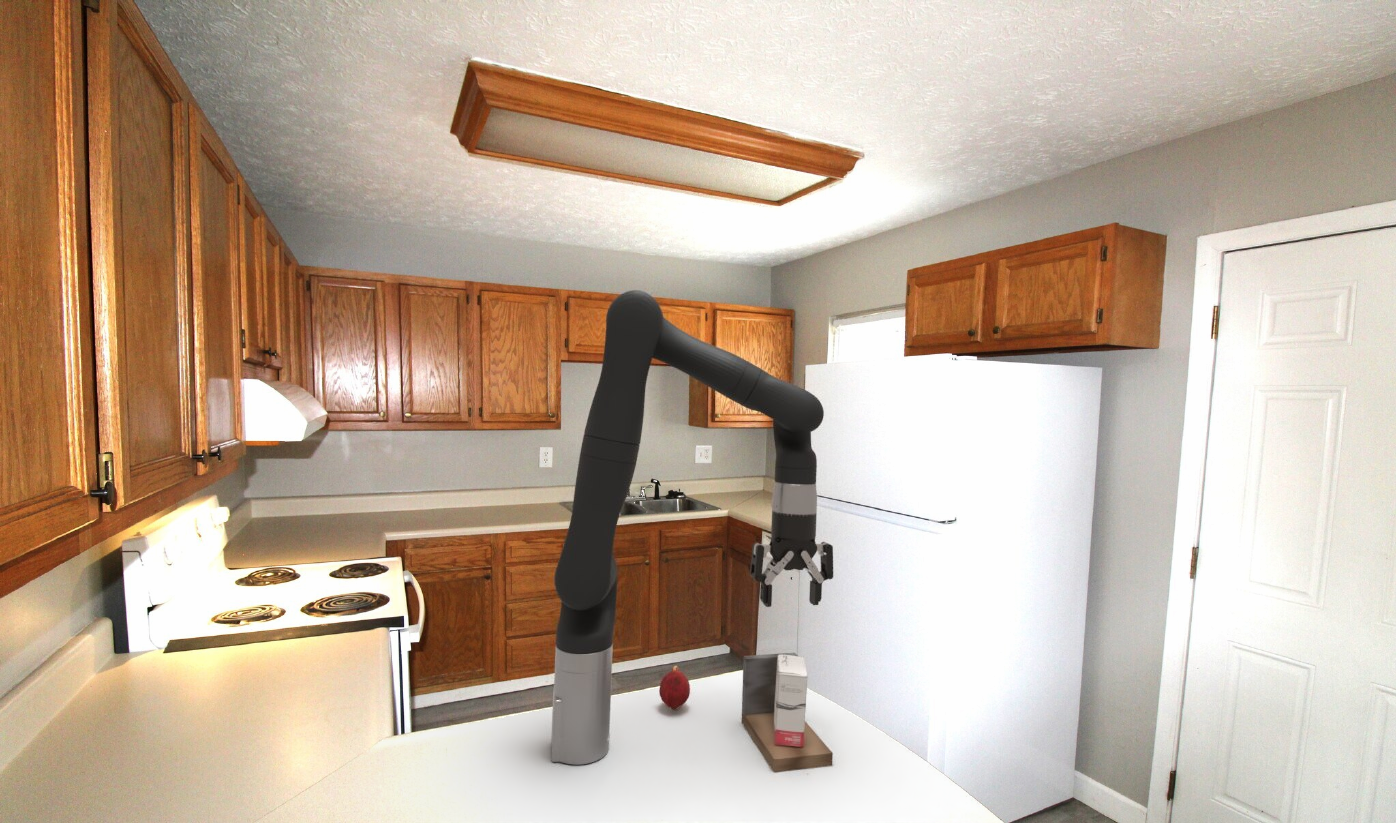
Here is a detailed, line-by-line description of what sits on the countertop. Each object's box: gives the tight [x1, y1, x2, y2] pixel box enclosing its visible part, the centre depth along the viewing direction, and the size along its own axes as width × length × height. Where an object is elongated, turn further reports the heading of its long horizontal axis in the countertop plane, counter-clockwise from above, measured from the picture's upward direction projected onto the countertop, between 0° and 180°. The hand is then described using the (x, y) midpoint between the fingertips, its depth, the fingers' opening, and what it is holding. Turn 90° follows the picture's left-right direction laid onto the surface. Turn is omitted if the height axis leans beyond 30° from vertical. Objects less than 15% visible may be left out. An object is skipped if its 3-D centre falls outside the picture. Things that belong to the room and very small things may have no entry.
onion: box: [658, 665, 691, 711], centre depth 115 cm, size 6×6×8 cm
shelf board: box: [740, 652, 834, 773], centre depth 104 cm, size 10×16×12 cm, turn 14°
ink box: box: [774, 653, 809, 747], centre depth 103 cm, size 9×5×12 cm, turn 174°
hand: (790, 604), depth 104 cm, fingers open, 8 cm apart
